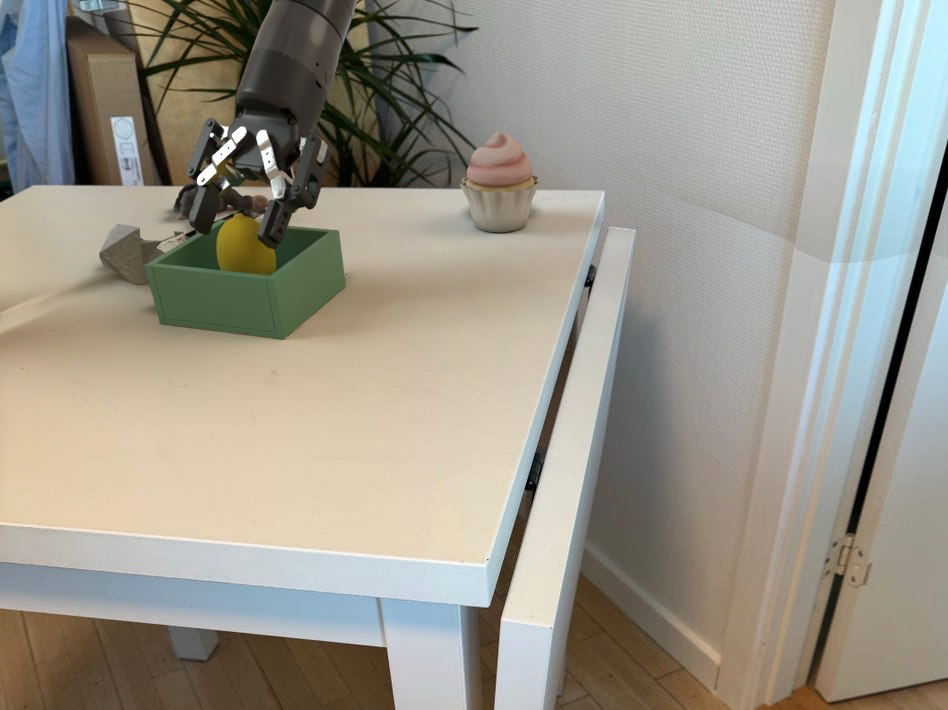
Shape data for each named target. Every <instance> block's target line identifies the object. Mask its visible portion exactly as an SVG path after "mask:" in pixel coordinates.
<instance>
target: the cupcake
mask: <svg viewBox="0 0 948 710" xmlns="http://www.w3.org/2000/svg"><path fill="white" fill-rule="evenodd" d="M539 180H540V176H538V175H533V165H532V162H531V159H530V158H529V156H528V155H527V154H526V153H525V152H524V151H523V149H522V147H521V145H520V143H518V141H517V140H516V139H514V137H512V136H511V135H510V134H508V133H506V132H504V131H501V130H498V131H496V132H495V133H494V134H493V135H492V136H491V137H490V138H489V139H488V140H487V141H486V143H485V144H484V145H483V146H480V147H477V149H475V150H474V152H473V153H472V155H471V158H470V162H469V164H468V167H467V170H466V176H465V177H463V178H461V181H462V182H461V183H460V184H459V187H460V188H461V190H462V192H463V194H464V197H466V199H467V202H468V206H469V210H470V214H471V218H472V222H473V224H474V226H475V228H477V229H479V230H481V231H484V232H490V233H508V232H509V233H510V232H514V231H517V230H521V229H523V228H524V227H525V226H527V223H528V221H529V217H530V212H531V209H532V208H531V207H532V203H533V199H534V197H535V194H536V193H537V190H538V188H539V186H540V184H541V183H540V182H539Z"/></svg>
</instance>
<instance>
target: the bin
mask: <svg viewBox="0 0 948 710" xmlns="http://www.w3.org/2000/svg"><path fill="white" fill-rule="evenodd" d="M218 220H219V219H218ZM216 221H217V220H216ZM227 221H228V220H219V221H217V222H216V223H214V224H213V225H212V228H211V231H210V233H209V234H208V235H204V234H200V233H197V234H196V235H194V236H192V237H191V238H187V239H186V240H184V241H183V242H181V243H179V244H178V245H176V246H174V247H172V248H171V249H169V250H167V251H165V252H164V254H163V255H161V256H159V257H158V258H156V259H154V260H153V261H151V262H149V263H148V264H146V265H145V270H146V273H147V277H148V285H149V288H150V291H151V292H150V293H151V295H152V299H153V303H154V306H155V310H156V315H157V317H158V321H159V324H160V325H167V326H173V327H174V326H175V327H184V328H190V329H199V330H209V331H214V332H215V331H216V332H221V333H222V332H224V333H230V334H239V335H247V336H254V337H262V338H270V339H276V340H277V339H278V340H286V338H289V336H290V335H291V334H292V333H294V332H295V331H296V330H297V329H298V328H299V327H301V326H302V325H303V324H304V323H305V322H307V320H308V319H310V318H311V317H312V316H313V315H314V314H315V313H317V312H318V311H319V310H320V309H322V307H324V306H325V305H326V304H327V303H328V302H330V301H331V300H332V299H333V298H334V297H335V296H337V295H338V294H339V293H340V292H341V291H343V289H345V288H346V286H347V283H346V275H345V267H344V260H343V252H342V251H343V250H342V242H341V236H340V230H339V229H329V228H317V227H306V226H296V225H288V227H287V228H286V229H287V230H286V232H285V235H284V238H283V240H282V241H281V243H280V244H278V246H277V248H276V249H274V251H275V256H276V272H274V273H273V274H272V275H270V276H269V275H260V274H250V273H241V272H232V271H222V270H221V269H220V267H219V263H218V259H217V249H216V246H217V237H218V233H219V231H220V229H221V227H222V226H223V224H224V223H225V222H227ZM259 223H260V224H261V223H262V222H259Z"/></svg>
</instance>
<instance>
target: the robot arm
mask: <svg viewBox="0 0 948 710" xmlns="http://www.w3.org/2000/svg"><path fill="white" fill-rule="evenodd" d="M357 3H358V0H272V2H271V5H270V7H269V10H268V12H267V14H266V16H265V17H264V20H263V21H262V23H261V25H260V27H259V29H258V33H257V35H256V37H255V40H254V43H253V46H252V49H251V51H250V55H249V57H248V60H247V63H246V66H245V69H244V72H243V74H242V77H241V80H240V83H239V86H238V89H237V91H236V95H235V103H236V109H237V114H236V117H235V119H234V120H233V122H232V123H231V124H230V125H229V126H227V125H223V124H220V123H219V122H218V121H217V120H216V119H215V118H213V117H208V118H207V119H206V120H205V122H204V125H203V126H202V129H201V131H200V135H199V137H198V140H197V142H196V144H195V147H194V149H193V151H192V153H191V156H190V159H189V162H188V164H187V167H186V169H185V175H186V176H187V177H188V178H189V179H190V180H191V181H193V183H194V182H195V183H196V184H197V185H198V191H197V194H196V197H195V200H194V203H193V205H192V209H191V211H190V214H189V219H188V221H189V225H190V227H191V228H192V229H193V230H196V231H198V232H199V233H200V234H204V235H208V234H209V233H210V231H211V228H212V225H213V223H214V222H215V221H216V217H217V215H218V213H217V211H218V209H219V206H220V203H221V200H220V198H221V197H222V196H223V195H224V194H225V193H226V192H227V191H229V190H230V189H231V188H233V187H241V186H242V184H244V183H245V182H246V181H250V182H251V181H252V182H256V181H257V182H258V181H262V182H264V183H265V184H269V185H270V186H271V191H272V195H273V198H274V199H268V200H269V203H268V206H267V207H266V208H265V209H266V211H265V213H263V217H262V219H261V222H260V223H261V225H260V228H259V231H258V234H257V237H258V240H259V241H260V242H261V243H263V244H264V245H265V246H266V247H267V248H271V249H276V248H277V246H278V244H280V243H281V241H282V240H283V238H284V235H285V232H286V230H287V229H286V228H287V227H288V226H289V225H290V224H289V223H290V221H291V218H292V216H293V214H295V213H297V211H298V210H299V209H302V208H306V210H309V211H310V210H313V209H314V208H315V207H316V205H317V203H318V200H319V196H320V193H321V190H322V186H323V183H324V180H325V177H326V175H327V174H326V173H327V170H328V167H329V165H330V161H331V157H332V154H333V153H332V151H333V150H332V149H331V148H330V147H329V146H328V144H327V143H326V141H324V140H323V138H322V137H321V136H320V135H319V134H318V133H317V132H316V129H317V126H318V124H319V120H320V117H321V115H322V112H323V109H324V106H325V104H326V101H327V98H328V95H329V92H330V90H331V87H332V84H333V81H334V79H335V76H336V72H337V70H338V69H337V68H338V64H339V59H340V54H341V51H342V49H343V45H344V42H345V39H346V37H347V34H348V32H349V28H350V26H351V23H352V20H353V17H354V14H355V11H356V6H357ZM230 160H231V164H232V165H233V167H234V169H233V168H231V167H230V166H229V164H228V162H229V161H230ZM204 162H205V167H204V168H205V169H204V171H203V172H202V170H201V169H202V166H203V163H204ZM296 163H298V164H297V166H296V167H297V168H296V171H295V172H294V168H293V167H294V165H295V164H296ZM219 175H223V176H224V177H223V178H222V179H221V180H220V181H219V182H217V183H215V182H214V180H215V179H216V178H217V177H218V176H219Z"/></svg>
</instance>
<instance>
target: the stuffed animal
mask: <svg viewBox="0 0 948 710" xmlns="http://www.w3.org/2000/svg"><path fill="white" fill-rule="evenodd" d="M204 169H205V167H202V170H201V171H202V172H203V171H204ZM223 177H224V175H219V176H218V177H217V178H216V179H215V180H214V182H215V183H217V182H219V181H220V180H221V179H222V178H223ZM197 191H198V185H197V184H196V183H195V182H194V181H193V182H192V183H188V184H185V185H184V186H183V187H182V188H181V189H180V190H179V192H178V195H177V197H176V198H175V202H174V203H173V213H175V214H178V215H177V216H176V217H174V220H176V221H189V214H190V211H191V209H192V205H193V203H194V200H195V197H196V194H197ZM220 200H221V203H220V206H219V209H218V211H217V214H219V213H223V212H226V211H227V210H228V206H231V208H233V209H234V210H237V211H236V212H234V213H231V214H229V215H226V216H224V217H222V218H220V219H217V220H214V223H216V222H217V221H219V220H229V219H231V218H233V217H234V215H235V214H236V213H242V214H243V215H244V216H246V217H249V218H252V219H254V220H255V219H257V218H258V217H259V216H261V214H265V211H266V209H267V206H268V203H269V200H270V199H268V197H267V196H265V195H262V194H257V195H254V196H253V195H250V194H246V195H242V194H240V193H239V192H238V191H237V190H236V189H234V188H233V187H232V188H231V189H230V190H229V191H227V192H226V193H225V194H224V195H223V196H222V197H221V198H220ZM214 223H213V224H214ZM197 233H199V232H198V231H196V230H195V229H193V230H191V231H188V232H186V233H183V236H185V237H187V239H189V238H191V237H192V236H194V235H196V234H197Z"/></svg>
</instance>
